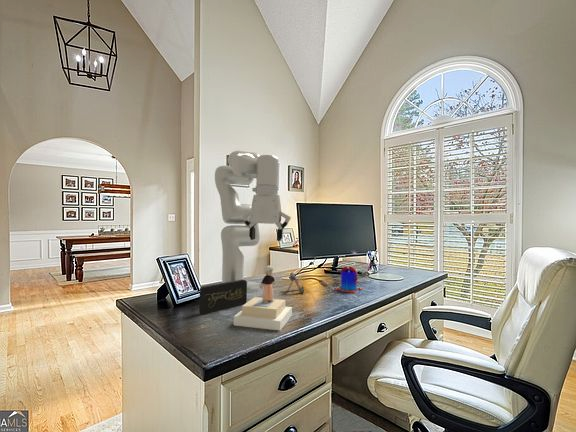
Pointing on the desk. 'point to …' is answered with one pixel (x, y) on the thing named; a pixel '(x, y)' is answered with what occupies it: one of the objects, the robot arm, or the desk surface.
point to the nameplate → (222, 296)
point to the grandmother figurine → (267, 285)
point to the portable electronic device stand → (292, 277)
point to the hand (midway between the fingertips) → (265, 240)
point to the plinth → (263, 320)
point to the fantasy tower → (348, 280)
